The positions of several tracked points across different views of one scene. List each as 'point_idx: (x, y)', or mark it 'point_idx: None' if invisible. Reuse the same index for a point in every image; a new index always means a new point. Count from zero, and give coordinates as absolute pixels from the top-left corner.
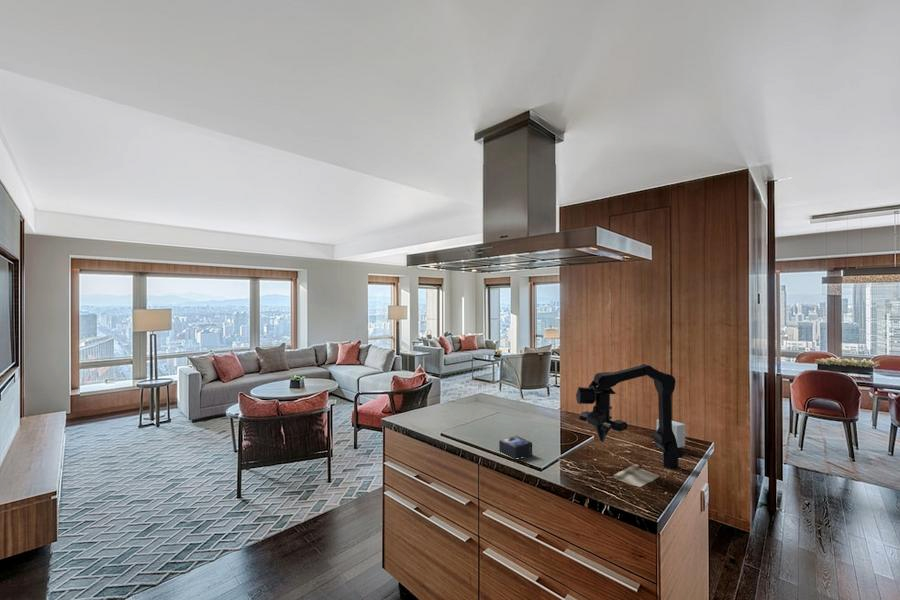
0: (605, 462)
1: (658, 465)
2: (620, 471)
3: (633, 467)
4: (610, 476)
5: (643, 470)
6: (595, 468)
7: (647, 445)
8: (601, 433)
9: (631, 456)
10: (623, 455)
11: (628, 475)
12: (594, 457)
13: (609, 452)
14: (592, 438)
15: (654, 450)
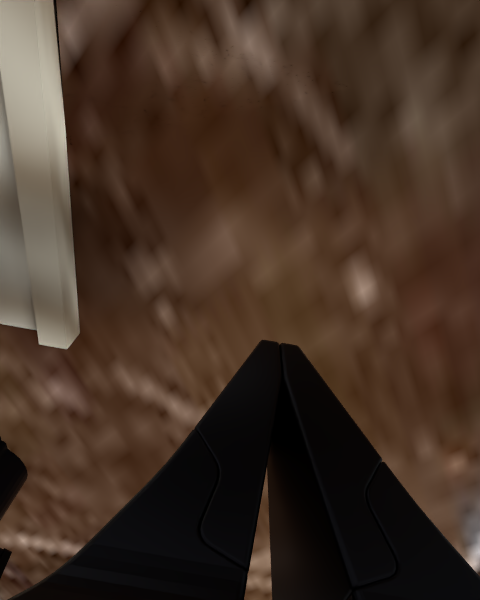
0: (272, 284)
1: (22, 435)
2: (44, 120)
3: (35, 285)
4: (105, 7)
5: (8, 316)
6: (296, 91)
7: None
8: (265, 459)
9: None
10: None
11: (7, 148)
12: (378, 317)
13: None
14: (465, 554)
15: None
